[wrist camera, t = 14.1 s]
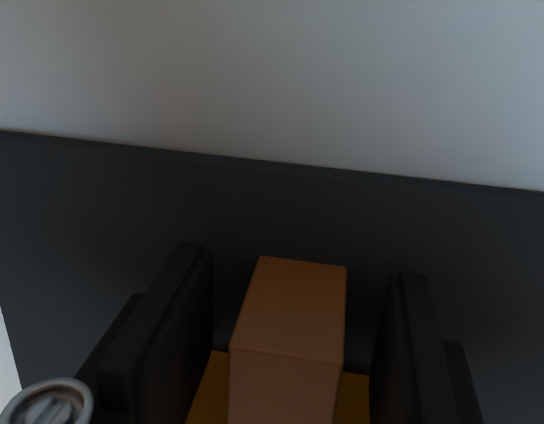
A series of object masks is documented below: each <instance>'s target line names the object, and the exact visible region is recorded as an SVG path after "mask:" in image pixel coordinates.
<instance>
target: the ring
mask: <svg viewBox="0 0 544 424" xmlns="http://www.w3.org/2000/svg"><path fill="white" fill-rule="evenodd" d="M346 289H347V269H346V267H344V266H337V265H329V264H322V263H315V262H307V261H300V260H293V259H285V258H278V257H270V256H263V255H262V256H260V257H259V258H258V261H257V264H256V267H255V270H254V273H253V276H252V278H251V281H250V284H249V287H248V290H247V293H246V296H245V299H244V301H243V304H242V307H241V310H240V313H239V316H238V319H237V322H236V325H235V327H234V330H233V333H232V336H231V339H230V342H229V345H228V353H226V352H220V351H214V350H212V352H211V356H210V359H209V361H208V364H207V367H206V369H205V372H204V374H203V377H202V380H201V382H200V385H199V387H198V390H197V393H196V395H195V398H194V400H193V403H192V406H191V408H190V411H189V413H188V416H187V419H186V421H185V424H370V410H369V376H368V375H362V374H356V373H350V372H344V371H343V365H344V342H345V315H346Z"/></svg>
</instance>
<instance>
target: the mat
mask: <svg viewBox="0 0 544 424" xmlns="http://www.w3.org/2000/svg"><path fill="white" fill-rule="evenodd" d="M179 242H187V243H194V244H201V245H204V246H205V249H206V252H212V254H213V347H212V350H214V351H220V352H226V353H228V345H229V342H230V339H231V336H232V333H233V330H234V327H235V325H236V322H237V319H238V316H239V313H240V310H241V307H242V304H243V301H244V299H245V296H246V293H247V290H248V287H249V284H250V281H251V278H252V276H253V273H254V270H255V267H256V264H257V261H258V258H259V257H260V256H262V255H263V256H270V257H278V258H285V259H293V260H300V261H307V262H315V263H322V264H329V265H337V266H344V267H346V269H347V289H346V315H345V342H344V365H343V371H344V372H350V373H356V374H362V375H368V376H369V373H370V366H371V361H372V356H373V351H374V347H375V342H376V337H377V332H378V327H379V323H380V318H381V313H382V308H383V303H384V299H385V294H386V289H387V284H388V280H389V278H390V277H394V278H398V275H399V273H400V272H405V273H413V274H420V275H426V276H427V278H428V282H429V287H430V291H431V296H432V300H433V305H434V309H435V314H436V318H437V323H438V327H439V332H440V336H441V339H446V340H453V341H459V342H460V343H461V344H462V346H463V349H464V352H465V355H466V359H467V363H468V366H469V370H470V373H471V377H472V381H473V384H474V388H475V391H476V395H477V399H478V402H479V406H480V409H481V413H482V417H483V420H484V424H544V193H542V192H533V191H524V190H516V189H507V188H498V187H489V186H481V185H472V184H463V183H454V182H445V181H437V180H428V179H419V178H410V177H401V176H393V175H384V174H375V173H366V172H358V171H349V170H340V169H331V168H322V167H314V166H305V165H296V164H287V163H278V162H270V161H261V160H252V159H243V158H235V157H226V156H217V155H208V154H199V153H191V152H182V151H173V150H164V149H155V148H147V147H138V146H129V145H120V144H112V143H103V142H94V141H85V140H76V139H68V138H59V137H50V136H41V135H33V134H24V133H15V132H6V131H0V306H1V310H2V314H3V318H4V322H5V325H6V329H7V333H8V337H9V341H10V345H11V349H12V352H13V356H14V360H15V364H16V368H17V372H18V375H19V379H20V383H21V387H22V390H23V389H25V388H27V387H29V386H31V385H33V384H35V383H36V382H40V381H43V380H46V379H50V378H60V377H66V378H74V376H75V375H76V374H77V372H78V371H79V369H80V368H81V366H82V365H83V364H84V362H85V361H86V359H87V358H88V356H89V355H90V354H91V352H92V351H93V349H94V348H95V346H96V345H97V344H98V342H99V341H100V339H101V338H102V336H103V335H104V334H105V332H106V331H107V329H108V328H109V326H110V325H111V324H112V322H113V321H114V319H115V318H116V316H117V315H118V314H119V312H120V311H121V309H122V308H123V306H124V305H125V304H126V302H127V301H128V299H129V298H130V297H131V296H132V295H133V294H134V293H143V294H145V293H146V291H147V290H148V288H149V287H150V285H151V284H152V282H153V281H154V279H155V278H156V276H157V275H158V273H159V272H160V270H161V269H162V267H163V266H164V264H165V262H166V261H167V259H168V258H169V256H170V255H171V253H172V252H173V250H174V249H175V247H176V246H177V244H178V243H179Z"/></svg>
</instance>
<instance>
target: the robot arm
mask: <svg viewBox="0 0 544 424" xmlns="http://www.w3.org/2000/svg"><path fill="white" fill-rule="evenodd" d="M212 347H213V254H212V252H206V249H205V246H204V245H201V244H194V243H187V242H179V243H178V244H177V246H176V247H175V249H174V250H173V252H172V253H171V255H170V256H169V258H168V259H167V261H166V262H165V264H164V266H163V267H162V269H161V270H160V272H159V273H158V275H157V276H156V278H155V279H154V281H153V282H152V284H151V285H150V287H149V288H148V290H147V291H146V293H145V294H143V293H134V294H133V295H132V296H131V297H130V298H129V299H128V301H127V302H126V304H125V305H124V306H123V308H122V309H121V311H120V312H119V314H118V315H117V316H116V318H115V319H114V321H113V322H112V324H111V325H110V326H109V328H108V329H107V331H106V332H105V334H104V335H103V336H102V338H101V339H100V341H99V342H98V344H97V345H96V346H95V348H94V349H93V351H92V352H91V354H90V355H89V356H88V358H87V359H86V361H85V362H84V364H83V365H82V366H81V368H80V369H79V371H78V372H77V374H76V375H75V376H74V378H66V377H60V378H50V379H46V380H43V381H40V382H36V383H35V384H33V385H31V386H29V387H27V388H25V389H23V390H22V391H21V392H19V393H18V394H17V395H16V396H14V397H13V398H12V399H11V400H10V402H9V403H8V404H7V405H6V407H5V408H4V409H3V411H2V413H1V414H0V424H185V421H186V419H187V416H188V413H189V411H190V408H191V406H192V403H193V400H194V398H195V395H196V393H197V390H198V387H199V385H200V382H201V380H202V377H203V374H204V372H205V369H206V367H207V364H208V361H209V359H210V356H211V352H212ZM369 410H370V424H484V420H483V417H482V413H481V409H480V406H479V402H478V399H477V395H476V391H475V388H474V384H473V381H472V377H471V373H470V370H469V366H468V363H467V359H466V355H465V352H464V349H463V346H462V344H461V343H460V342H459V341H453V340H446V339H441V336H440V332H439V327H438V323H437V318H436V314H435V309H434V305H433V300H432V296H431V291H430V287H429V282H428V278H427V276H426V275H420V274H413V273H405V272H400V273H399V275H398V278H394V277H390V278H389V280H388V284H387V289H386V294H385V299H384V303H383V308H382V313H381V318H380V323H379V327H378V332H377V337H376V342H375V347H374V351H373V356H372V361H371V366H370V373H369Z"/></svg>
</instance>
